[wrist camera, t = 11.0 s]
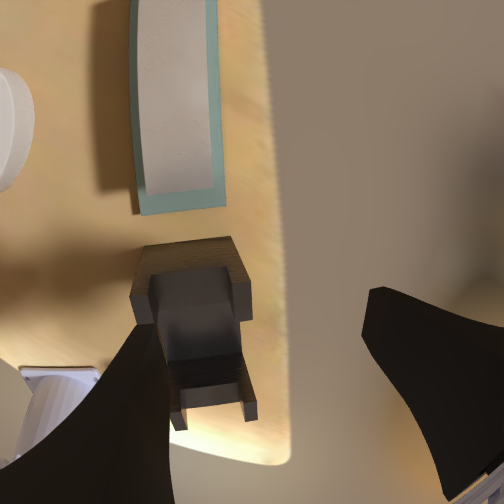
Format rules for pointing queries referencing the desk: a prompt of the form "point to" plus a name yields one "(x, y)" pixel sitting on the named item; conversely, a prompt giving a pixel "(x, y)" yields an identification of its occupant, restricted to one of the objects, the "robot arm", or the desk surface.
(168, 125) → the silver rail
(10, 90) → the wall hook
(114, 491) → the robot arm
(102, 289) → the desk surface
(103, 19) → the desk surface
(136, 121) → the rubber mat
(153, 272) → the dark grey slotted rack
